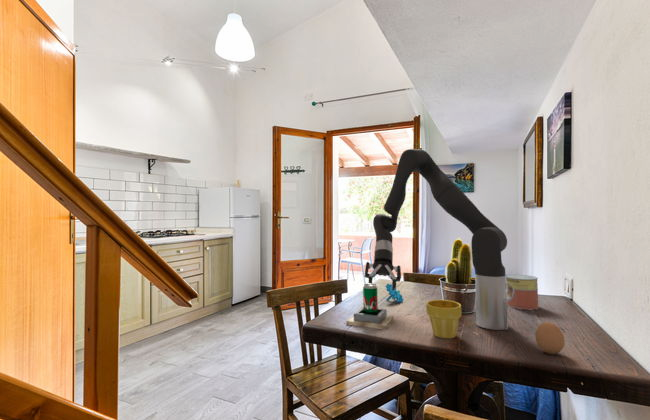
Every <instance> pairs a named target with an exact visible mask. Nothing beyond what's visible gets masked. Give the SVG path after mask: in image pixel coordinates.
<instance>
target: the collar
mask: <svg viewBox="0 0 650 420" xmlns="http://www.w3.org/2000/svg"><path fill="white" fill-rule="evenodd" d="M353 315H354V321H360V322H368V323H376V324H381V322H382V321H383V320H384V319H385V318H386V317H387V315H388V311H387V309H386V308H378V315H372V314H364V311H363V306H360V308H358V309H357V310H356V311H355V312H354V313H353Z"/></svg>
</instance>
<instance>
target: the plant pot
mask: <svg viewBox="0 0 650 420" xmlns="http://www.w3.org/2000/svg"><path fill="white" fill-rule="evenodd" d="M425 303H426V305H425V306H426V314H427V315H428V316H429V321H430V324H431V328H432V333H433V335H434V336H435V337H437V338H440V339H453V338H455V337H456V336H457V332H458V327H459V321H460V318H461V317H462V313H463V312H462V304H461V303H460V302H457V301H454V300H450V299H448V300H447V299H433V300H428V301H427V302H425Z"/></svg>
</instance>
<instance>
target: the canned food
mask: <svg viewBox="0 0 650 420" xmlns="http://www.w3.org/2000/svg"><path fill="white" fill-rule="evenodd" d="M505 278H506V300H507V307H510V308H513V309H516V308H517V310H522V309H529V310H528V311H531V310H530V309H536V310H538V309H539V308H538V307H539V292H538V291H539V288H538V277H537V276H532V275H526V274H507V275H506V274H505ZM537 308H538V309H537Z"/></svg>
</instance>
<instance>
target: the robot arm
mask: <svg viewBox="0 0 650 420" xmlns="http://www.w3.org/2000/svg"><path fill="white" fill-rule="evenodd" d="M413 173H418V174H419V175H420V176H422V177H423V178H424V179H425V181H426V182H427V183H428V184H429V188H430V191H431V194H432V197H433V199H434V200H435V202H437V204H438V205H439V206H440V207H441V208H442V209H443V210H444V211H445V212H446V213H447V214H448V215H450V216H451V217H453V218H454V219H455V220H457V221H459V222H460V223H461V224H462V225H463V226H465V227H466V228H467V229H468V230H469V231H470V232H471V234H472V237H471V259H472V266H473V268H474V278H475V280H474V281H475V282H474V283H475V288H474V289H475V321H476V322H475V323H476V325H477V327H481V328H483V329H488V330H495V331H496V330H497V331H501V330H507V331H508V330H509V327H508V326H509V325H508V323H509V321H508V319H509V318H508V306H507V294H506V267H505V266H504V265H503V261H502V252H503V251H504V250H505V249H506V248H507V246H508V239H507V236H506V233H505V232H504V231H503V230H502V229H500V228H499V227H498V226H497V225H496V224H495V223H494V222H492V221H491V220H490V219H489V218H488V217H487V216H485V215H484V214H483V213H482V212H481V211H480V210H479V208H478V207H477V206H476V204H474V202H472V201H471V200H470V198H469V197H468V196H467V194H465V192H464V191H462V190H461V188H459V186H458V185H457V184H456V183H454V182H453V180H451V179H450V177H448V175H447V174H446V173H445V172H444V171H443V170H441V168H440V167H439V166H438V164H437V163H436V162H435V161H434V159H433V158H432V157H431V155H430V154H429V153H428V152H427V151H426V150H424V149H420V148H408V149H405V150H404V151H403V152H402V153H401V155H400V158H399V160H398V163H397V167H396V172H395V176H394V179H393V183H392V187H391V189H390V192H389V194H388V197H387V199H386V201H385V204H384V206H383V210H384V212H386V214H389V215H386V214H384V213H376V215H375V216H374V217H373V221H372V225H373V230H374V232H375V246H374V256H373V257H374V259H373V262H372V263H370V262H369V261H367V262H366V263H365V270H364V278H365V279H368V283H372V284H373V278H375V277H376V276H377V275H378V276H383V277H388V278H389V279H390V280H391V285H392V291H394V289H396V290H397V282H398V283H399V282H401V279H402V271H401V265H397V266H396V265H395V266H394V265H393V257H394V256H393V255H394V253H393V252H394V249H393V248H394V247H393V234H392V233H393V232H394V231H395V230H396V229H397V226H398V218H399V213H400V211H401V209H402V206H403V204H404V202H405V200H406V195H407V191H406V190H407V184H408V180H409V178H410V177H411V175H412V174H413ZM371 269H372V271H371V272H370V273H369V270H371ZM393 270H394V271H395V273H396V275H395V274H394V272H393Z"/></svg>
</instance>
